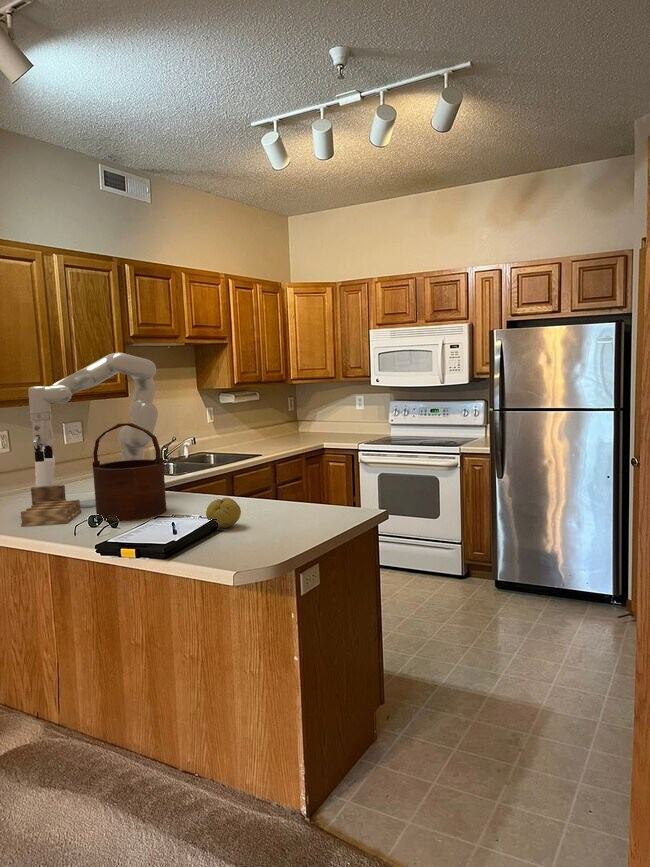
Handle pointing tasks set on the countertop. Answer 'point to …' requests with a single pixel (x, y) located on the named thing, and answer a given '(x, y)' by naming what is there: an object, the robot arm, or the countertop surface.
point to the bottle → (44, 472)
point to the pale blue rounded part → (88, 503)
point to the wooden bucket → (130, 484)
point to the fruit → (224, 512)
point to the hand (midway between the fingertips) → (44, 459)
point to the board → (48, 494)
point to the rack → (50, 513)
